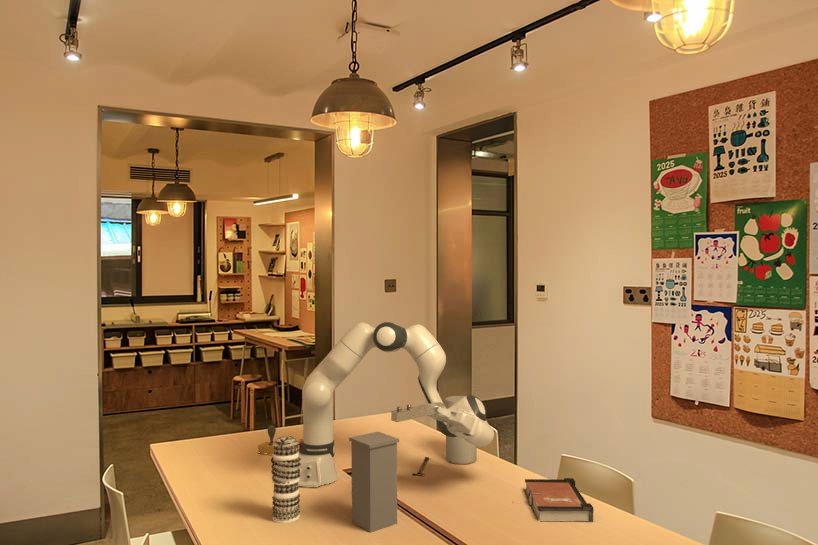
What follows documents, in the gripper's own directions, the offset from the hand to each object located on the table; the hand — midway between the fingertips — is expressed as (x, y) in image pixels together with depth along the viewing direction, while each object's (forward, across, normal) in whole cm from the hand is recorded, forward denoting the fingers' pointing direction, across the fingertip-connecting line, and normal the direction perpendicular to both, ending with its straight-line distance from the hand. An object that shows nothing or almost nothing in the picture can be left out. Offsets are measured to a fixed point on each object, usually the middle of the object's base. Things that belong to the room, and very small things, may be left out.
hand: (432, 407), depth 201 cm
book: (-42, +27, +13) cm, 52 cm away
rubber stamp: (-2, -86, +36) cm, 94 cm away
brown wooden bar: (+4, 0, +5) cm, 7 cm away
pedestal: (+5, 0, +40) cm, 40 cm away
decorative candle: (+22, -21, +50) cm, 58 cm away
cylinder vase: (-50, -28, +8) cm, 58 cm away
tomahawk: (-35, -30, +17) cm, 49 cm away
